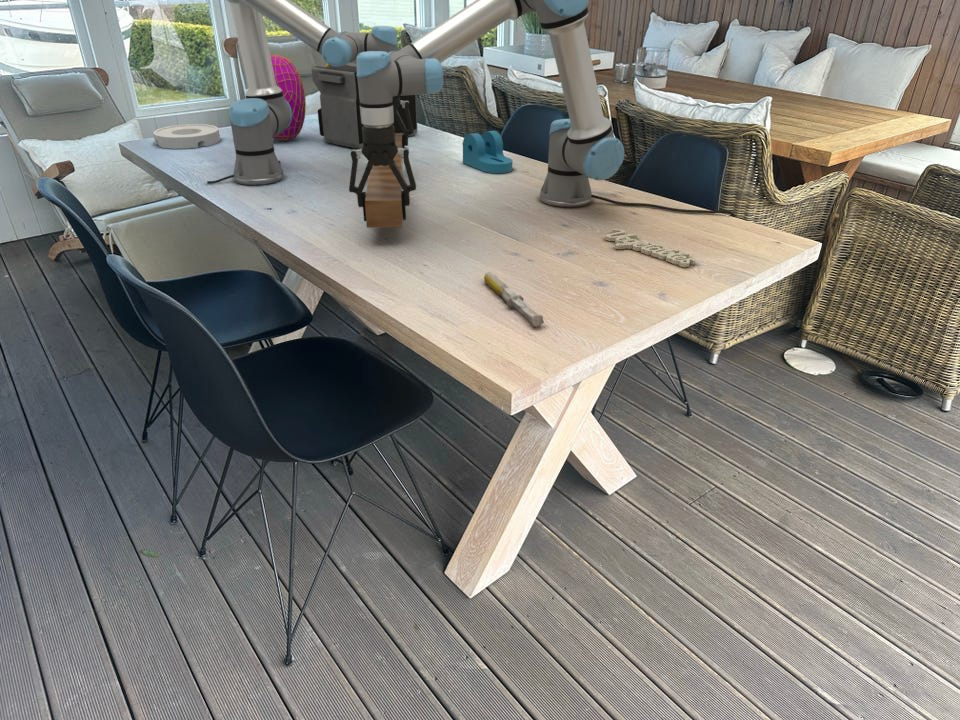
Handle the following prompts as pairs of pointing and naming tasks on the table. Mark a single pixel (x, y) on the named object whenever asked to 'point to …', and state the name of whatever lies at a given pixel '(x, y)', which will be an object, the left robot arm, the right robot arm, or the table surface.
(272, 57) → the decorative egg
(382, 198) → the wide beam
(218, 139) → the beige round base
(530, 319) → the syringe
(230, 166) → the table surface
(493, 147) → the camera mount
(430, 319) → the table surface
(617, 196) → the table surface
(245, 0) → the left robot arm
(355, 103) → the cooler box
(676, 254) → the decorative sign
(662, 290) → the table surface
